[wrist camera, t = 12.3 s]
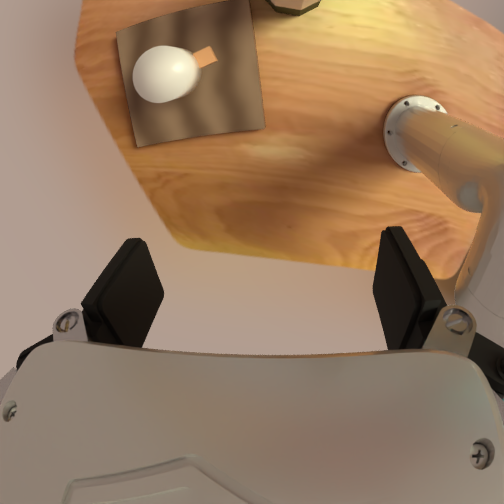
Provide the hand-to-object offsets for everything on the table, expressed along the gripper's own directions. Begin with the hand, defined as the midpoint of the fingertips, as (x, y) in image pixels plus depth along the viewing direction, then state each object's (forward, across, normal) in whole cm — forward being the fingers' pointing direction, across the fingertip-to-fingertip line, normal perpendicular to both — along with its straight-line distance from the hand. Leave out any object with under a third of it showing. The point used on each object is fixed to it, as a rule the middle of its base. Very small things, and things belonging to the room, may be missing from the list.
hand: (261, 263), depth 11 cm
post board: (+34, +12, -9) cm, 37 cm away
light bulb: (+28, +11, -9) cm, 31 cm away
